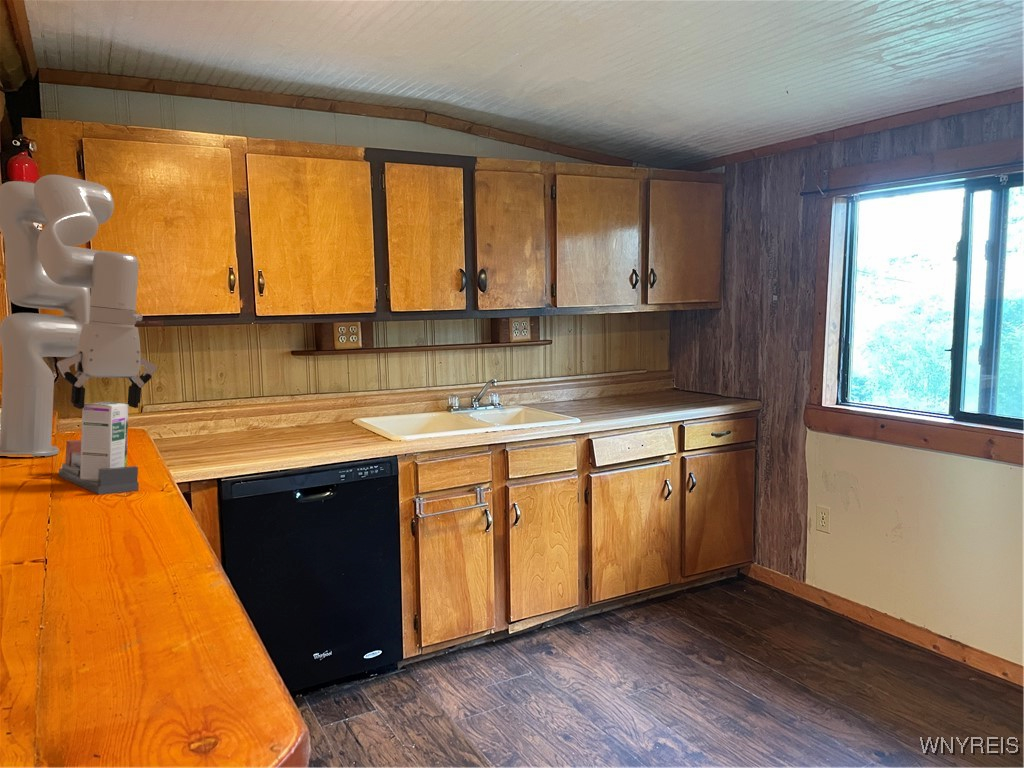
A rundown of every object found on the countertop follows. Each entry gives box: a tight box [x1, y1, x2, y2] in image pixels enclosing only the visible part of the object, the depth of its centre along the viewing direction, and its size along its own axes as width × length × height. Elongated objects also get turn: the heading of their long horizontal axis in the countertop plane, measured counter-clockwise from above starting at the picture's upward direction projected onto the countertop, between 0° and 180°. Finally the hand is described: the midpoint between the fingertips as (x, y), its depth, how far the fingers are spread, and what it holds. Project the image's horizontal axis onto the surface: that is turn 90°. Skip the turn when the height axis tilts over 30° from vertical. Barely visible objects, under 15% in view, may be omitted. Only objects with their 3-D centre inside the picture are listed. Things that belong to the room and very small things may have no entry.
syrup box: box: [80, 401, 130, 481], centre depth 134 cm, size 6×6×14 cm
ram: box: [64, 439, 81, 469], centre depth 140 cm, size 9×3×5 cm, turn 51°
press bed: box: [58, 462, 140, 495], centre depth 136 cm, size 19×7×4 cm, turn 51°
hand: (106, 407), depth 134 cm, fingers open, 9 cm apart
